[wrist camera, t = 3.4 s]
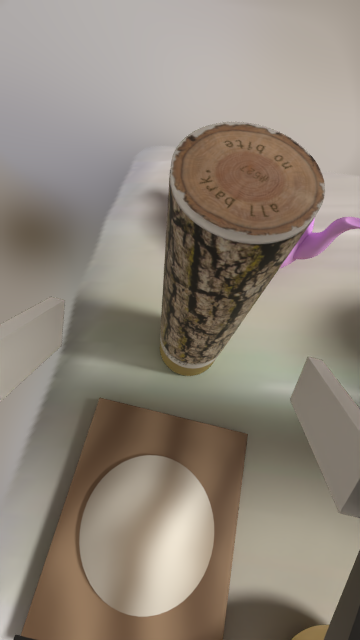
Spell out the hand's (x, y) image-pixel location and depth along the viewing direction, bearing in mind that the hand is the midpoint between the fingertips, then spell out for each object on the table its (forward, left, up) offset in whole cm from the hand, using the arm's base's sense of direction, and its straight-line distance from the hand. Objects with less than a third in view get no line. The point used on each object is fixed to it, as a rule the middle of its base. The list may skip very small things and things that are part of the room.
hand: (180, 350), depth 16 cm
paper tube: (-1, -7, -19) cm, 20 cm away
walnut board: (-1, +11, -19) cm, 22 cm away
